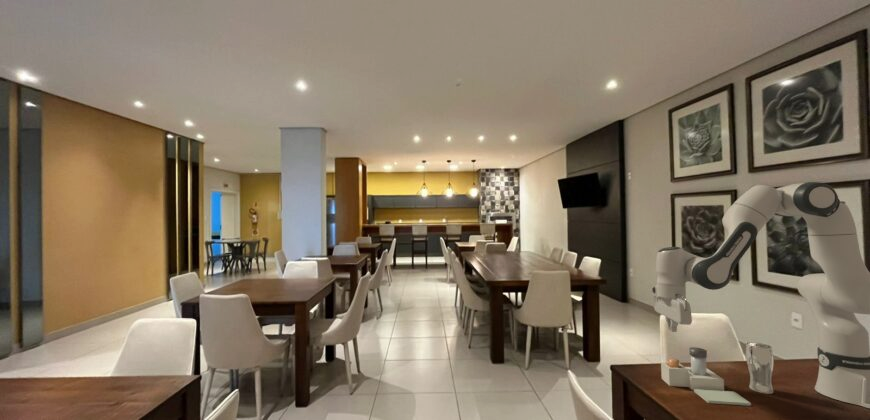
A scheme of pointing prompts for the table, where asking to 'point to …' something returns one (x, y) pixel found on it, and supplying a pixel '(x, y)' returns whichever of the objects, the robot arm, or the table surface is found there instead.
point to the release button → (673, 363)
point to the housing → (690, 378)
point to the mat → (722, 397)
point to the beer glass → (760, 366)
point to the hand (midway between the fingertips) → (672, 330)
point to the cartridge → (698, 361)
